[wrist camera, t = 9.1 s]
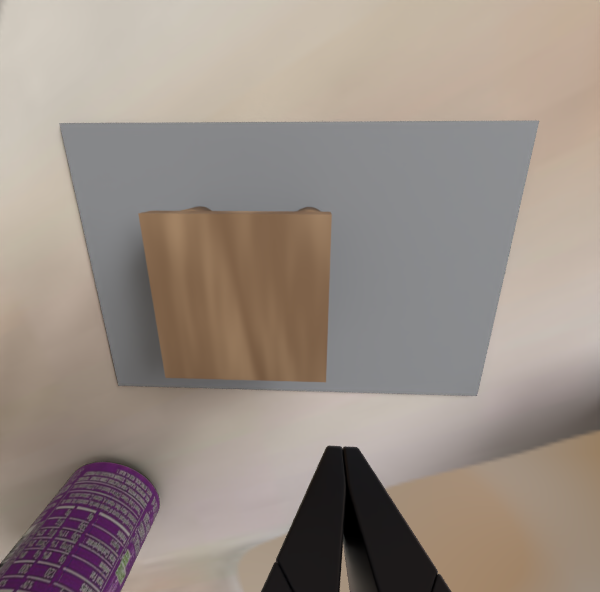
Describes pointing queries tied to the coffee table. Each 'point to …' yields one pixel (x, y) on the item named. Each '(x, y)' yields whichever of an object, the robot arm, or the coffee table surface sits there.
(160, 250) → the stool
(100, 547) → the beverage can
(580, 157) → the coffee table surface
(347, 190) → the felt mat
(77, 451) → the coffee table surface
